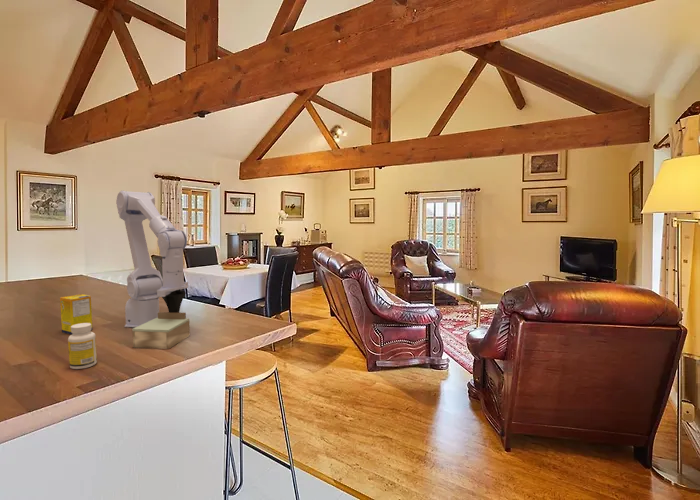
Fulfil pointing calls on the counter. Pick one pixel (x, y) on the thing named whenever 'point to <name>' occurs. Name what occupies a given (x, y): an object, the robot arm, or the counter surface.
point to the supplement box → (75, 311)
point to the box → (160, 337)
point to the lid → (163, 322)
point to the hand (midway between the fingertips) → (174, 315)
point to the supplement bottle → (82, 346)
